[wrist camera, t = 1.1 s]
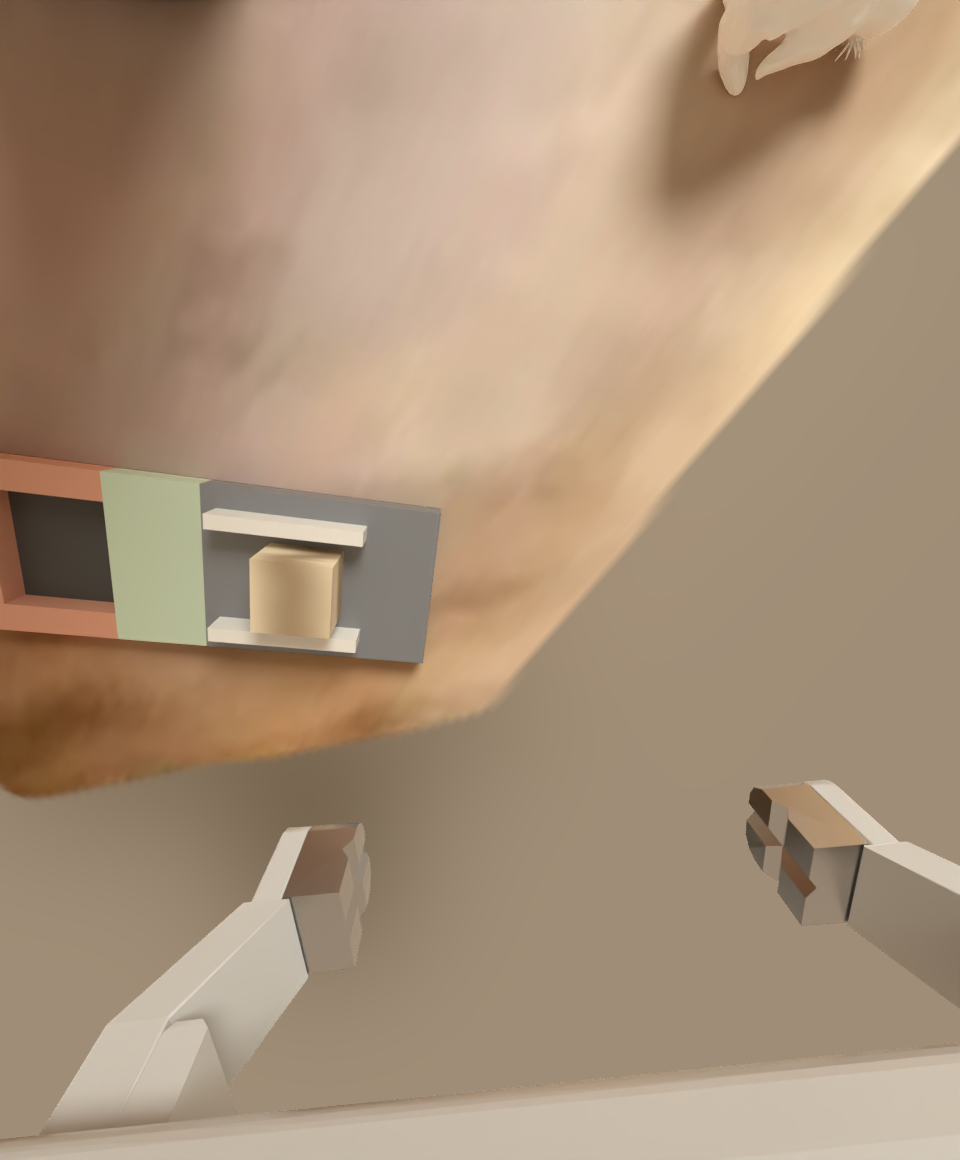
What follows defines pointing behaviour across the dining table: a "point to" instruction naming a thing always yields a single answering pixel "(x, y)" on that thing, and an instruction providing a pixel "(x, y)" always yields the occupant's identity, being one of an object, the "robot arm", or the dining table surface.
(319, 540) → the channel walls
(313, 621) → the birch block
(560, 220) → the dining table surface
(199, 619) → the pad
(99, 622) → the board
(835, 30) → the white lumpy figurine
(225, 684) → the dining table surface
